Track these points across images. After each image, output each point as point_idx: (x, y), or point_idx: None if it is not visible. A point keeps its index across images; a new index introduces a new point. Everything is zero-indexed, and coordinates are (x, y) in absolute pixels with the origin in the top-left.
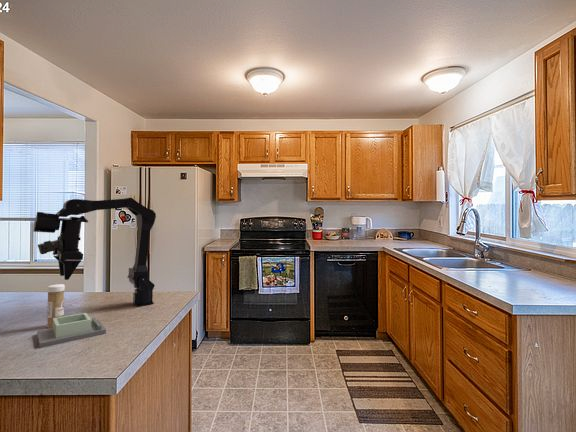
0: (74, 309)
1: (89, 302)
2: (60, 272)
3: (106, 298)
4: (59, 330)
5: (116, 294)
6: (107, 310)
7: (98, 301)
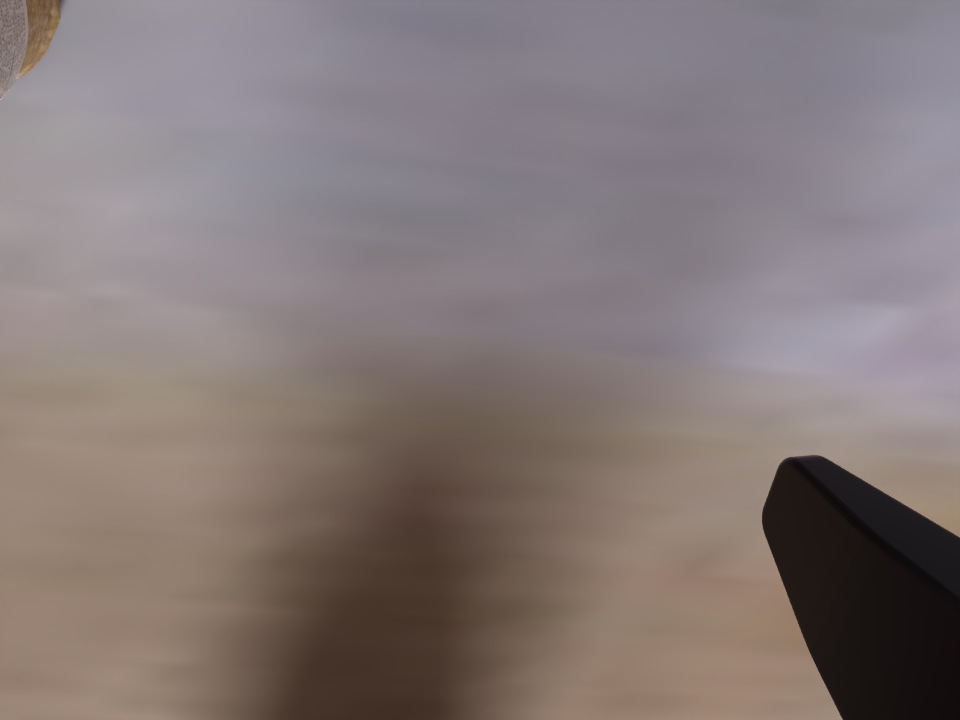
0: (644, 297)
1: None
2: (848, 524)
3: None
4: None
5: None
6: (310, 570)
7: None
